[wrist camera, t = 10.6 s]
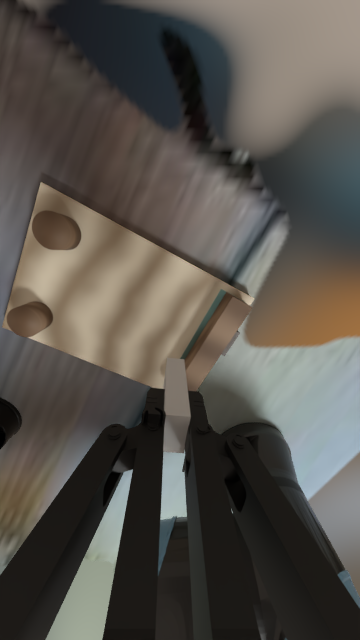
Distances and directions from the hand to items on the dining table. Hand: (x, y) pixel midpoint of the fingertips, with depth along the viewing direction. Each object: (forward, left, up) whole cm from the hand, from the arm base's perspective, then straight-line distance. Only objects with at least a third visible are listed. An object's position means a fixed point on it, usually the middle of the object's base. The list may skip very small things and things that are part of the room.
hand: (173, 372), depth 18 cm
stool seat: (+6, +1, -14) cm, 16 cm away
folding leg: (-6, +1, -12) cm, 13 cm away
